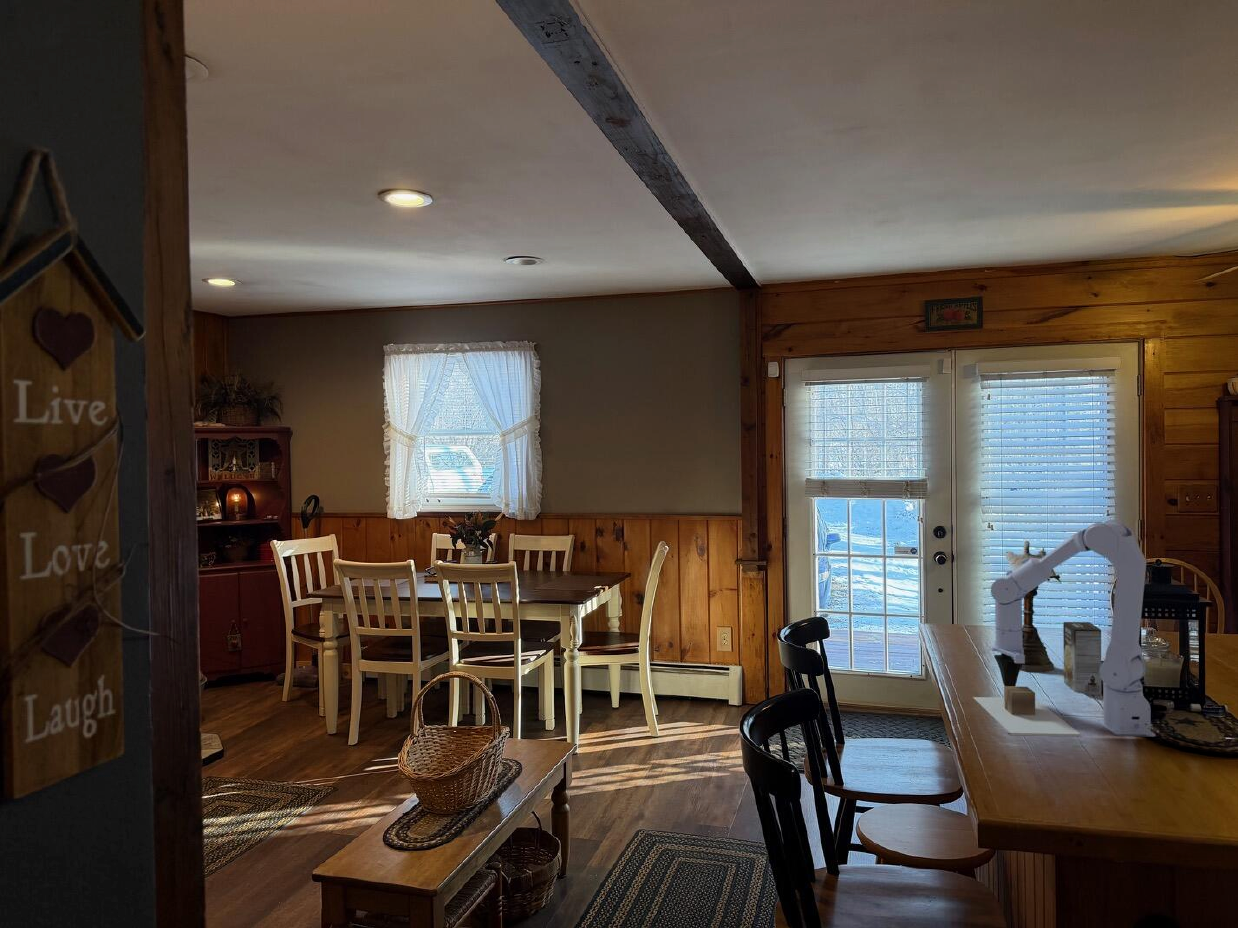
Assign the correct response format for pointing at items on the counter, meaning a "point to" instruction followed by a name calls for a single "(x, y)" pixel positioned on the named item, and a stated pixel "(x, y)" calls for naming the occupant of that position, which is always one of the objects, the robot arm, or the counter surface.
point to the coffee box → (1082, 657)
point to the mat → (1027, 720)
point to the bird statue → (1031, 619)
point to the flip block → (1019, 700)
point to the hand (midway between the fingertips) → (1009, 686)
